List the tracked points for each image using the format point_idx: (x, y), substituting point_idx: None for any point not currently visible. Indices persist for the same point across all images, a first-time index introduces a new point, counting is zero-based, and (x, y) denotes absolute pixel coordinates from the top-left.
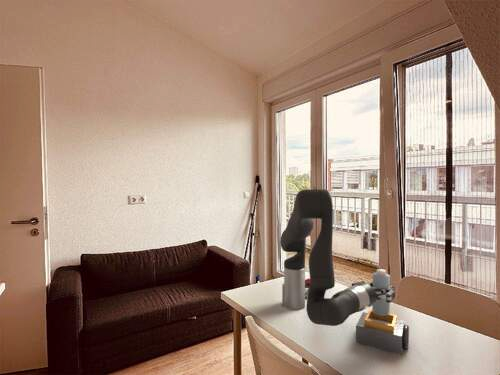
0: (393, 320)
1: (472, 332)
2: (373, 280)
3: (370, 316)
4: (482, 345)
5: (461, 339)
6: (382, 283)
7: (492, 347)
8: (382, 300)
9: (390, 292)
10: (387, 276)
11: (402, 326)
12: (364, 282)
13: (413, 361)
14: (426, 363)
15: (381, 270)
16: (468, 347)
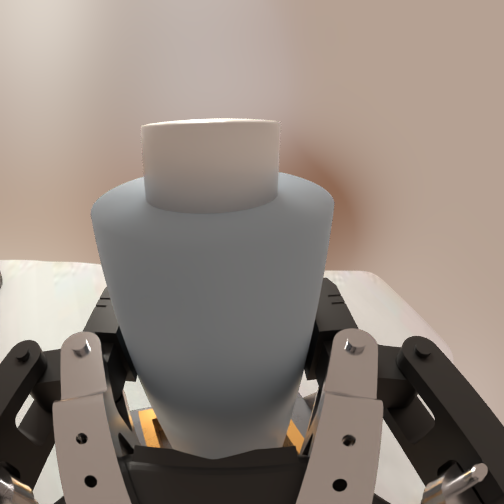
0: (288, 431)
1: (337, 271)
2: (131, 320)
3: (162, 446)
4: (381, 297)
5: (350, 305)
6: (293, 326)
7: (391, 292)
8: (272, 441)
9: (476, 419)
10: (303, 190)
11: (307, 412)
12: (37, 363)
13: (382, 493)
14: (404, 466)
15: (214, 121)
16: (380, 321)
